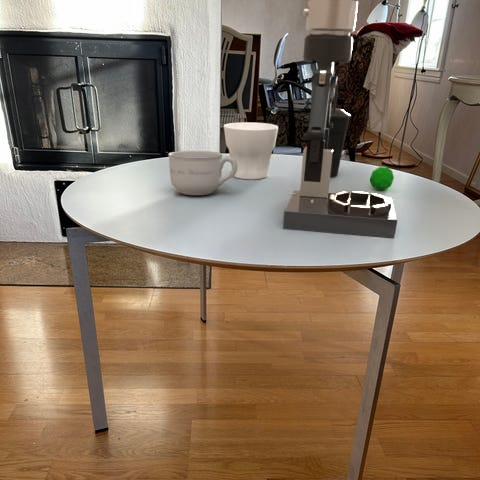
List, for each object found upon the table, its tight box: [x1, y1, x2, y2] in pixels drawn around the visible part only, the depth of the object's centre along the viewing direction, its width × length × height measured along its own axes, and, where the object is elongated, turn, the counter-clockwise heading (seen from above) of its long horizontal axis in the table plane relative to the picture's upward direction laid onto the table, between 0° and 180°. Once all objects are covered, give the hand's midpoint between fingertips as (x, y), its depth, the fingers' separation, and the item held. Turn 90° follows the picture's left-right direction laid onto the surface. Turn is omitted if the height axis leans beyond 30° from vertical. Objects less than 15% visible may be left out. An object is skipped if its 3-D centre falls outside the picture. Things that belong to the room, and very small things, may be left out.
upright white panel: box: [299, 146, 333, 198], centre depth 85 cm, size 5×2×8 cm, turn 78°
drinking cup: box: [326, 82, 352, 178], centre depth 111 cm, size 8×8×20 cm
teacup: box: [167, 150, 237, 196], centre depth 97 cm, size 14×11×8 cm
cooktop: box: [282, 190, 398, 239], centre depth 85 cm, size 19×16×3 cm
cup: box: [223, 121, 279, 180], centre depth 111 cm, size 12×12×11 cm
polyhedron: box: [369, 165, 395, 191], centre depth 104 cm, size 5×5×5 cm
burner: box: [329, 190, 391, 217], centre depth 81 cm, size 10×10×2 cm
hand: (315, 172), depth 86 cm, fingers open, 13 cm apart
